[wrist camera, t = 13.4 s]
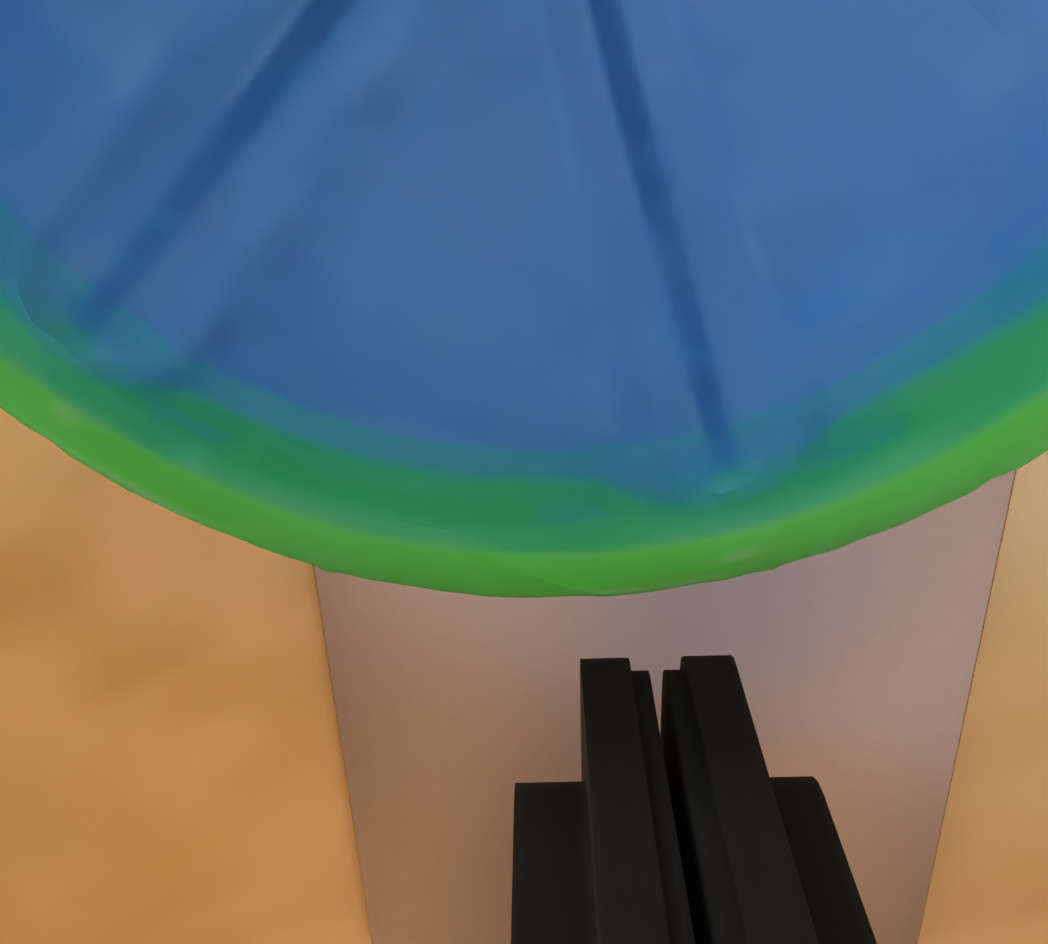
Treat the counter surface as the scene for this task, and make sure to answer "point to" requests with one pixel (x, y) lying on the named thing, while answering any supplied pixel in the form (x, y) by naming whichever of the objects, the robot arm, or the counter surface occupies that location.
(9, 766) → the counter surface
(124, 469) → the snack cup
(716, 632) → the placemat
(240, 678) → the counter surface
